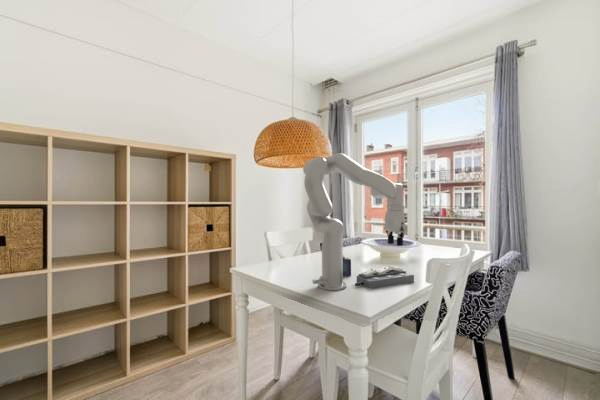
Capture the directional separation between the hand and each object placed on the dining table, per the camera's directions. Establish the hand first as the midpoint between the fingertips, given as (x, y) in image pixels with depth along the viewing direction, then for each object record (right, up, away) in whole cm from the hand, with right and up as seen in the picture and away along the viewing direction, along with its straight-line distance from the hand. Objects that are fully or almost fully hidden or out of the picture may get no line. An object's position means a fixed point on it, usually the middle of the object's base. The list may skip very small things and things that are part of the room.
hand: (395, 244), depth 137 cm
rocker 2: (-7, -13, -3) cm, 15 cm away
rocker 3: (0, -13, 0) cm, 13 cm away
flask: (-25, -18, +8) cm, 32 cm away
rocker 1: (-15, -13, -6) cm, 20 cm away
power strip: (-8, -18, -6) cm, 20 cm away
